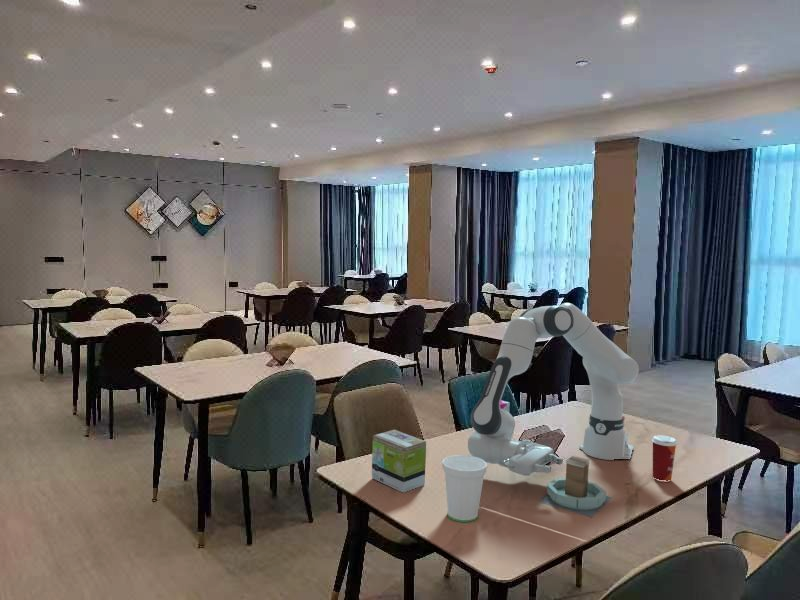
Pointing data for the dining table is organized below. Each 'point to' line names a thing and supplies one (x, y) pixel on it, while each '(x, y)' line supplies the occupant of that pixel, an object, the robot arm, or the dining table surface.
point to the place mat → (583, 512)
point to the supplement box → (504, 405)
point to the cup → (463, 486)
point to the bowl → (588, 503)
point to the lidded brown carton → (577, 477)
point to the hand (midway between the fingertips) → (556, 465)
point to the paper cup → (663, 456)
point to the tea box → (399, 460)
